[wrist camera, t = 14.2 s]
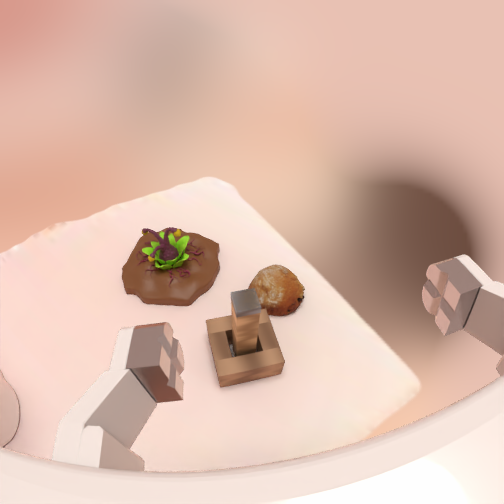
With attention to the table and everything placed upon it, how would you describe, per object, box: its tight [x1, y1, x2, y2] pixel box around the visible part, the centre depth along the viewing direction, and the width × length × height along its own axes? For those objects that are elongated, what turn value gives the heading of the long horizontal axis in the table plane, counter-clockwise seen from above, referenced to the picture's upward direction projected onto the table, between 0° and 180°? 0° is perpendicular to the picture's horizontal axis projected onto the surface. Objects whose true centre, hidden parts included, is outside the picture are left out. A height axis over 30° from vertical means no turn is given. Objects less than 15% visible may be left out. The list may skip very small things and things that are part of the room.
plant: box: [122, 227, 220, 306], centre depth 58 cm, size 20×20×11 cm
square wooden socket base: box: [206, 309, 285, 387], centre depth 47 cm, size 10×10×5 cm
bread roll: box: [248, 265, 305, 316], centre depth 57 cm, size 10×10×8 cm
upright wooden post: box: [231, 288, 261, 357], centre depth 43 cm, size 3×3×16 cm
